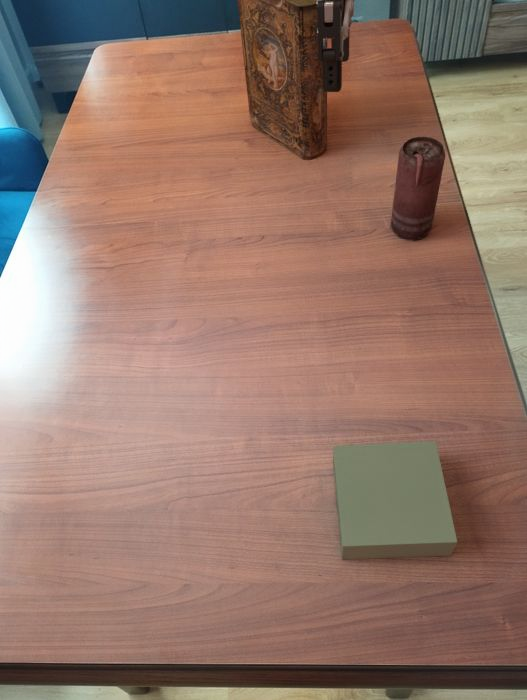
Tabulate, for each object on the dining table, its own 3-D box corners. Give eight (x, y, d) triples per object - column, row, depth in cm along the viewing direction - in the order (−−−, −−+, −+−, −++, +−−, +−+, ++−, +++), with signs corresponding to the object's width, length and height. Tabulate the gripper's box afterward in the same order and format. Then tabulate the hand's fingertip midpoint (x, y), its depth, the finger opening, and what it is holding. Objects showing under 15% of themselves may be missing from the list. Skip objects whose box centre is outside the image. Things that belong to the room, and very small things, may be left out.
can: (390, 242, 88) (400, 162, 77) (390, 214, 92) (399, 134, 80) (432, 243, 87) (448, 162, 76) (430, 215, 91) (444, 134, 80)
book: (331, 149, 103) (333, -4, 84) (308, 162, 102) (304, 8, 82) (273, 114, 112) (262, -33, 92) (250, 125, 110) (234, -22, 90)
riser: (430, 457, 66) (435, 440, 63) (450, 555, 59) (457, 542, 56) (333, 462, 67) (333, 445, 63) (341, 559, 60) (342, 546, 57)
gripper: (367, -66, 55) (361, 102, 67) (377, -103, 64) (371, 50, 77) (289, -61, 57) (297, 102, 69) (310, -98, 66) (314, 51, 78)
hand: (336, 75), depth 73 cm, fingers open, 8 cm apart
